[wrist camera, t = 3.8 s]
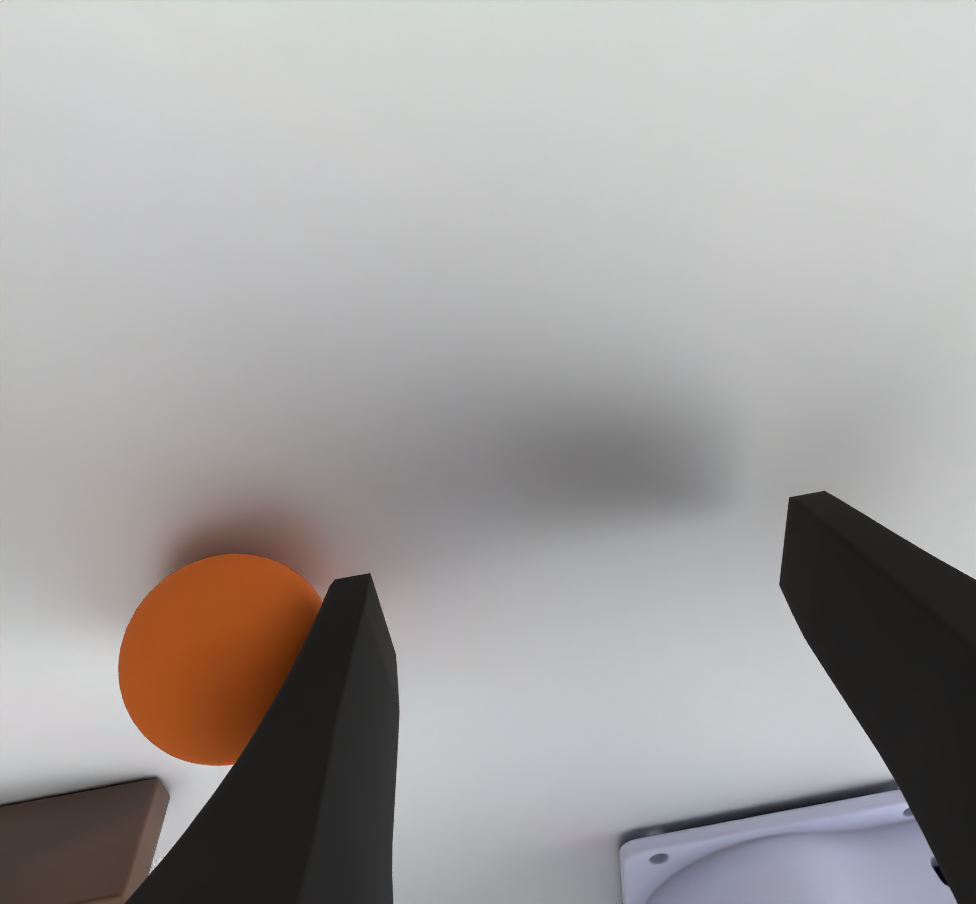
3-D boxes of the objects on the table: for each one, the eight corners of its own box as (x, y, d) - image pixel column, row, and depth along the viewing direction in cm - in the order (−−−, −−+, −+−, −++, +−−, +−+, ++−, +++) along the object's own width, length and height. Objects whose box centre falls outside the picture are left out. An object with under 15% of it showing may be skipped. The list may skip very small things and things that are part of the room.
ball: (312, 498, 13) (289, 646, 10) (359, 631, 15) (351, 788, 12) (121, 532, 13) (41, 691, 10) (192, 661, 14) (143, 826, 12)
